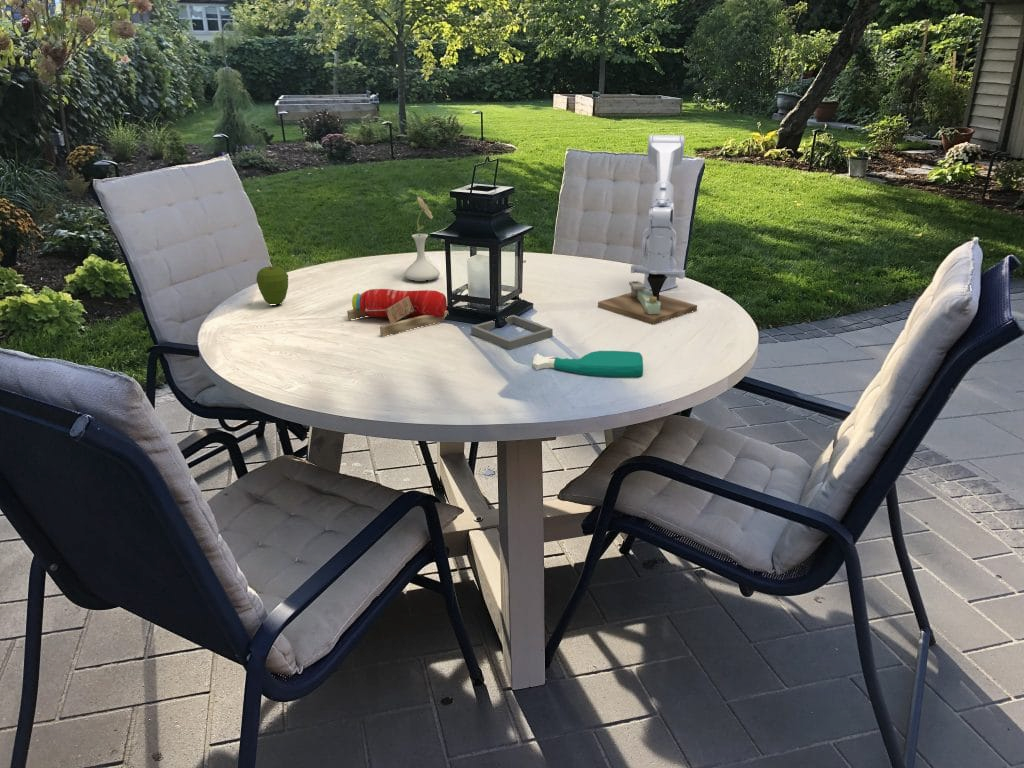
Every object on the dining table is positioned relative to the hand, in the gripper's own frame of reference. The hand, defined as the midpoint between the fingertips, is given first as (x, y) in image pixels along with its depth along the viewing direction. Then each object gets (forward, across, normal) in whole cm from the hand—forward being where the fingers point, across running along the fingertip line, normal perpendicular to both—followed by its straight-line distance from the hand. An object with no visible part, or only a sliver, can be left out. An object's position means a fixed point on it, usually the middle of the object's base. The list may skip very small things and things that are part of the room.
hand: (655, 301), depth 212 cm
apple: (+2, -96, -45) cm, 106 cm away
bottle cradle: (+2, -58, -40) cm, 70 cm away
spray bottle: (+3, 0, -48) cm, 48 cm away
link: (+1, -1, -3) cm, 3 cm away
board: (+2, -2, -1) cm, 3 cm away
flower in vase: (+2, -75, -3) cm, 75 cm away
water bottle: (+2, -58, -40) cm, 70 cm away
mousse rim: (+2, -25, -37) cm, 44 cm away
